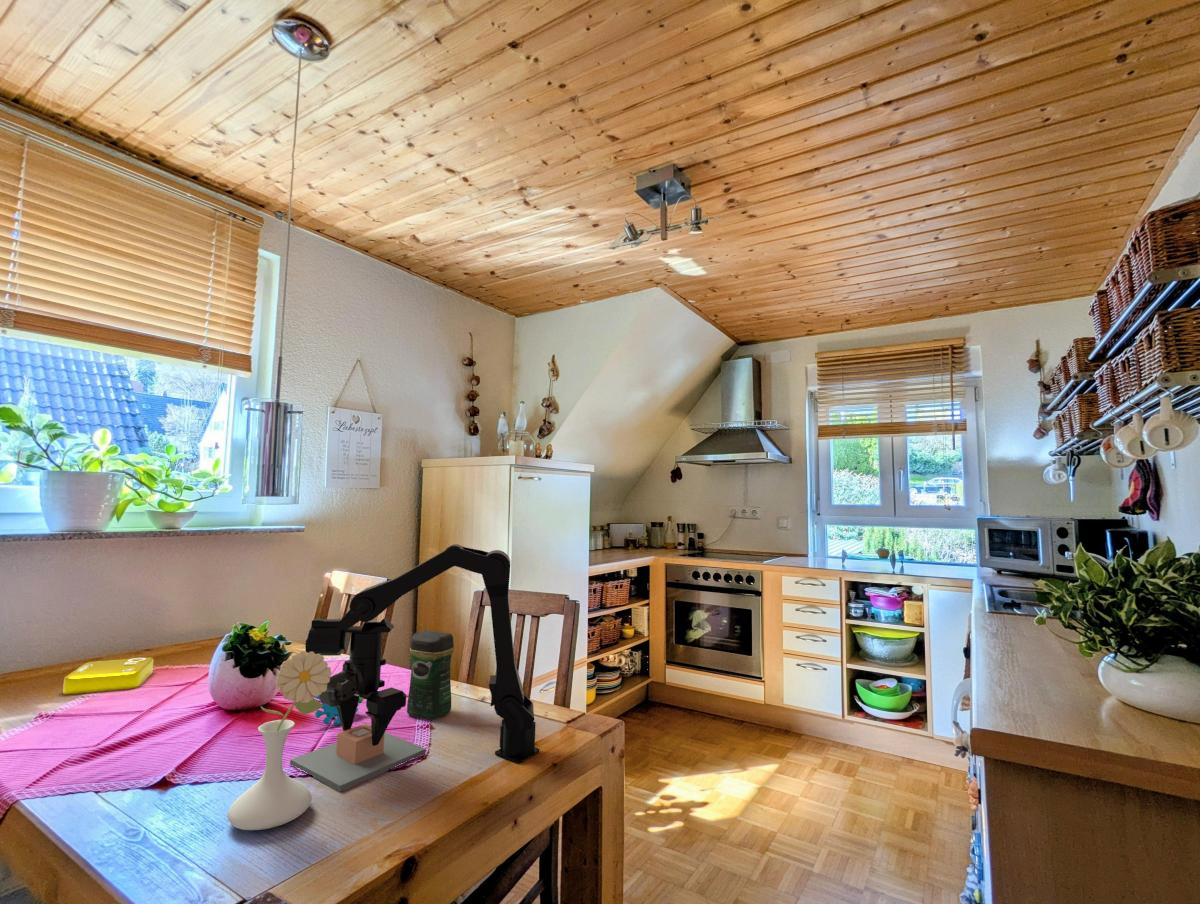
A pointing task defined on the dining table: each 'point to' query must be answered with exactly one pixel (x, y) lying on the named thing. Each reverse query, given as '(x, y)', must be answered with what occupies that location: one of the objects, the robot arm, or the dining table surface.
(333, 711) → the teal virus model
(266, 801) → the flower in vase
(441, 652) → the coffee jar
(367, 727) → the collar
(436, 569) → the robot arm
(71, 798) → the dining table surface
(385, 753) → the post plate
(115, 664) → the element tile
